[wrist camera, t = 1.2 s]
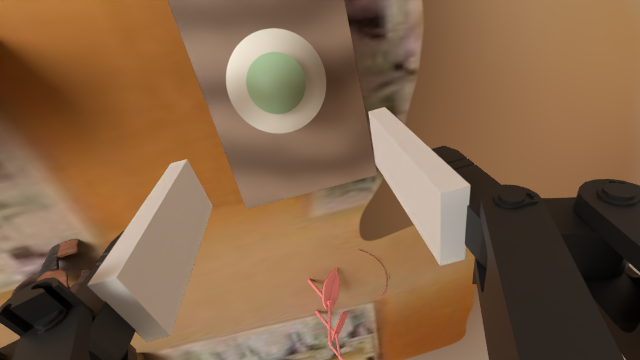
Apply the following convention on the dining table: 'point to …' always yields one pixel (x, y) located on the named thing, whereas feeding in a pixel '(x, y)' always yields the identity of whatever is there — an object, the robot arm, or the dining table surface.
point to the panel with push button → (280, 92)
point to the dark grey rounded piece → (140, 356)
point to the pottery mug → (56, 267)
